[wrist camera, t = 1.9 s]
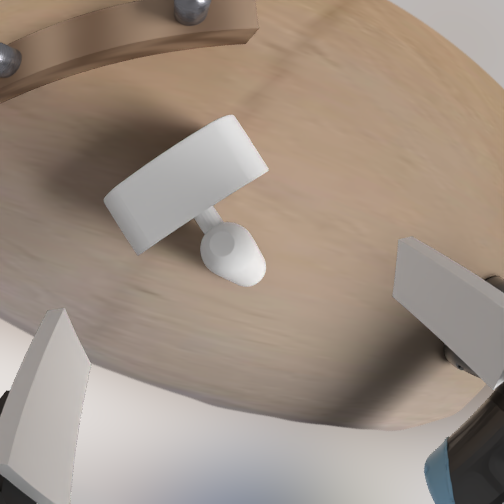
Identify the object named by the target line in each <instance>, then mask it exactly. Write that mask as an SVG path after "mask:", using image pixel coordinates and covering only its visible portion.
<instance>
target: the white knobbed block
mask: <svg viewBox="0 0 504 504" xmlns="http://www.w3.org/2000/svg"><path fill="white" fill-rule="evenodd" d="M267 171H269V169H268V167H267V166H266V164H265V163H264V161H263V159H262V158H261V156H260V155H259V153H258V152H257V150H256V148H255V147H254V145H253V144H252V142H251V141H250V139H249V137H248V136H247V134H246V133H245V131H244V130H243V128H242V127H241V125H240V124H239V122H238V121H237V119H236V118H235V116H234V115H227V116H224V117H221V118H219V119H217V120H215V121H213V122H211V123H209V124H208V125H206V126H204V127H203V128H201V129H199V130H198V131H196V132H195V133H193V134H191V135H190V136H188V137H187V138H185V139H183V140H182V141H180V142H179V143H177V144H176V145H174V146H172V147H171V148H169V149H168V150H166V151H165V152H163V153H162V154H160V155H159V156H158V157H156V158H155V159H153V160H152V161H150V162H149V163H147V164H146V165H144V166H143V167H142V168H140V169H139V170H137V171H136V172H135V173H133V174H132V175H130V176H129V177H128V178H126V179H125V180H124V181H122V182H121V183H120V184H118V185H117V186H116V187H114V188H113V189H112V190H111V191H110V192H109V193H108V194H107V195H106V196H105V198H104V203H105V205H106V207H107V208H108V210H109V212H110V213H111V215H112V216H113V218H114V220H115V221H116V223H117V224H118V226H119V228H120V229H121V231H122V232H123V234H124V235H125V237H126V239H127V240H128V242H129V243H130V245H131V246H132V248H133V249H134V251H135V252H136V254H137V255H140V254H141V253H143V252H144V251H146V250H147V249H149V248H150V247H151V246H153V245H154V244H156V243H157V242H159V241H160V240H162V239H163V238H165V237H166V236H168V235H169V234H170V233H172V232H173V231H175V230H176V229H178V228H179V227H181V226H182V225H184V224H185V223H187V222H188V221H190V220H191V219H193V218H194V219H195V220H196V222H197V224H198V225H199V227H200V228H201V230H202V231H203V233H204V234H205V235H204V237H203V239H202V241H201V247H200V252H201V257H202V260H203V262H204V264H205V265H206V267H207V268H208V269H209V270H210V271H212V272H213V273H215V274H217V275H218V276H221V277H223V278H225V279H227V280H229V281H231V282H233V283H235V284H238V285H240V286H245V287H247V286H252V285H255V284H257V283H258V282H259V281H260V280H261V279H262V278H263V276H264V274H265V271H266V263H265V260H264V258H263V256H262V254H261V252H260V250H259V248H258V246H257V245H256V243H255V241H254V239H253V238H252V236H251V234H250V233H249V232H248V231H247V230H246V229H245V228H244V227H243V226H241V225H239V224H236V223H232V222H223V220H222V219H221V217H220V216H219V214H218V213H217V211H216V210H215V208H214V207H213V205H215V204H216V203H218V202H219V201H221V200H222V199H224V198H225V197H227V196H229V195H230V194H232V193H233V192H235V191H237V190H238V189H240V188H241V187H243V186H245V185H246V184H248V183H249V182H251V181H253V180H254V179H256V178H258V177H259V176H261V175H262V174H264V173H266V172H267Z"/></svg>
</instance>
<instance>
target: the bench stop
mask: <svg viewBox="0 0 504 504" xmlns="http://www.w3.org/2000/svg"><path fill="white" fill-rule="evenodd" d="M258 29H259V23H258V16H257V8H256V1H255V0H139V1H134V2H129V3H125V4H121V5H116V6H112V7H108V8H105V9H101V10H97V11H94V12H90V13H87V14H84V15H81V16H77V17H74V18H71V19H68V20H66V21H63V22H60V23H57V24H54V25H52V26H49V27H47V28H44V29H42V30H39V31H37V32H34V33H32V34H30V35H27V36H25V37H23V38H21V39H18V40H16V41H14V42H12V43H10V44H8V45H5V44H3V43H0V103H2V102H5V101H7V100H9V99H11V98H14V97H16V96H18V95H20V94H23V93H25V92H28V91H30V90H33V89H35V88H38V87H40V86H43V85H46V84H48V83H51V82H54V81H57V80H60V79H62V78H65V77H68V76H72V75H75V74H78V73H81V72H84V71H88V70H91V69H95V68H98V67H102V66H106V65H109V64H113V63H117V62H122V61H126V60H130V59H135V58H140V57H144V56H150V55H155V54H160V53H166V52H172V51H179V50H186V49H193V48H201V47H211V46H221V45H234V44H246V43H247V42H248V40H249V39H250V38H251V37H252V36H253V35H254V34H255V32H256V31H257V30H258Z"/></svg>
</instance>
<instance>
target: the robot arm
mask: <svg viewBox="0 0 504 504" xmlns="http://www.w3.org/2000/svg"><path fill="white" fill-rule="evenodd" d="M393 297H394V298H395V299H396V300H397V301H398V302H399V303H401V304H402V305H403V306H404V307H405V308H406V309H407V310H408V311H410V312H411V313H412V314H413V315H414V316H415V317H416V318H417V319H418V320H420V321H421V322H422V323H423V324H424V325H425V326H426V327H427V328H428V329H430V330H431V331H432V332H433V333H434V334H435V335H436V336H437V337H438V338H439V339H440V340H441V341H443V342H444V343H445V348H444V352H445V357H446V359H447V360H448V361H449V362H450V363H451V364H452V365H453V366H454V367H456V368H457V369H460V370H464V371H466V372H468V373H470V374H472V375H474V376H476V377H479V378H481V379H482V380H483V381H484V382H485V383H486V384H487V385H488V386H489V387H490V388H491V389H492V390H494V389H495V391H494V392H493V393H492V395H491V396H490V397H489V398H488V399H487V400H486V401H485V403H484V404H482V405H481V407H480V408H479V409H478V410H477V411H476V412H475V413H474V414H473V415H472V416H471V417H470V418H469V419H468V420H467V421H466V422H465V423H464V424H463V425H462V426H461V427H460V428H459V429H458V430H457V431H456V432H454V433H453V434H452V435H451V436H450V437H447V438H446V439H445V441H444V442H443V443H442V444H441V445H440V446H439V447H438V448H437V449H436V450H435V451H434V452H433V453H432V454H431V455H430V456H429V457H428V458H427V460H426V463H425V468H424V473H425V478H426V482H427V485H428V489H429V491H430V494H431V496H432V498H433V500H434V502H435V504H504V279H502V278H501V277H498V276H496V277H492V278H489V279H488V280H486V281H485V280H483V279H482V278H480V277H479V276H477V275H476V274H474V273H472V272H471V271H469V270H468V269H466V268H464V267H463V266H461V265H460V264H458V263H456V262H455V261H453V260H451V259H450V258H448V257H447V256H445V255H443V254H442V253H440V252H438V251H436V250H435V249H433V248H431V247H430V246H428V245H426V244H424V243H423V242H421V241H419V240H418V239H416V238H414V237H412V236H411V237H407V238H403V239H399V240H398V252H397V262H396V272H395V280H394V288H393ZM90 368H91V363H90V361H89V359H88V357H87V355H86V353H85V351H84V349H83V347H82V345H81V343H80V341H79V339H78V337H77V335H76V332H75V330H74V328H73V326H72V324H71V321H70V319H69V317H68V315H67V312H66V310H65V308H60V309H54V310H48V311H47V313H46V315H45V317H44V319H43V321H42V322H41V324H40V326H39V328H38V330H37V332H36V334H35V336H34V338H33V340H32V342H31V344H30V347H29V349H28V351H27V353H26V355H25V357H24V360H23V362H22V364H21V366H20V369H19V371H18V373H17V375H16V378H15V380H14V382H13V385H12V387H11V390H10V391H6V392H5V393H4V394H3V396H2V397H1V398H0V504H70V501H71V500H70V499H71V487H72V476H73V467H74V458H75V451H76V444H77V437H78V430H79V424H80V418H81V413H82V407H83V402H84V396H85V391H86V387H87V382H88V377H89V373H90Z"/></svg>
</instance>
